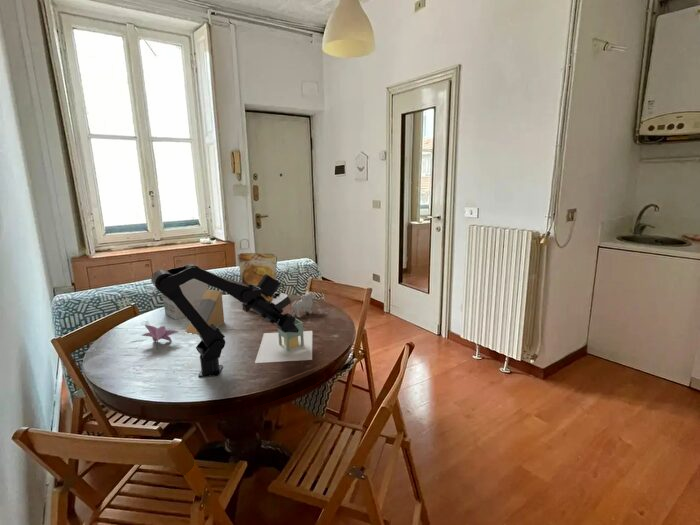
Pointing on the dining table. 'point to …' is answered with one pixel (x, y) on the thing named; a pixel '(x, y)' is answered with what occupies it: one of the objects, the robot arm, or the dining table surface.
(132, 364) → the dining table surface
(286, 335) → the green hollow square frame
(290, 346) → the plus sign cube
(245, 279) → the pancake mix bag
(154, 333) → the lily
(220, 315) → the sandwich container
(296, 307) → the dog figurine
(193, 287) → the supplement box
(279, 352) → the white rectangular sheet
